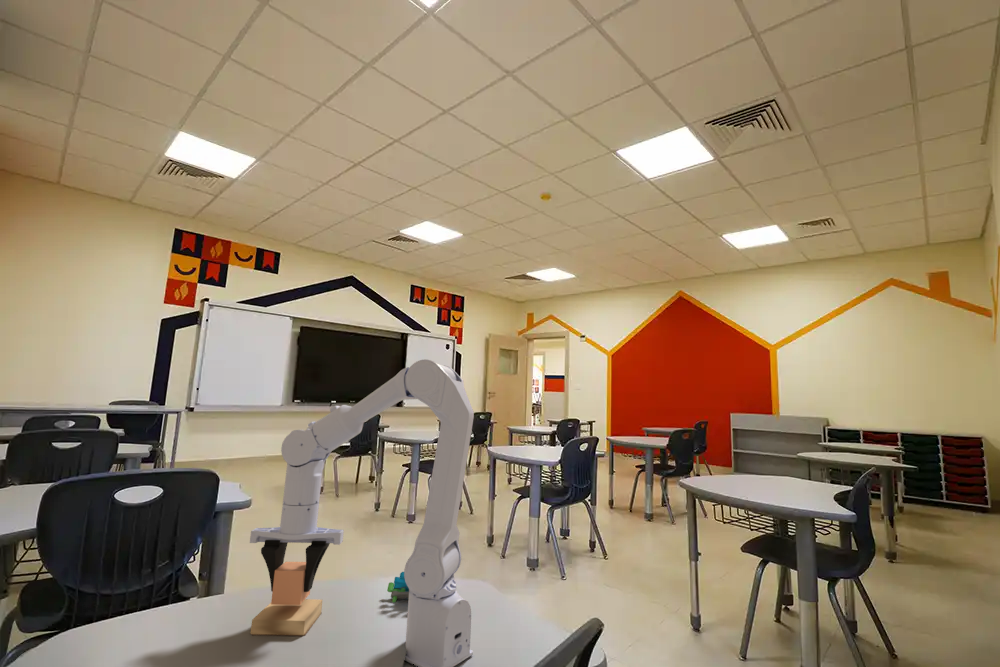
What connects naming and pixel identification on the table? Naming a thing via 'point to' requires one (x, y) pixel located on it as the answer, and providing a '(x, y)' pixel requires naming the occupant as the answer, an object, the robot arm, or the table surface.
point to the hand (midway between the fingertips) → (291, 589)
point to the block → (289, 584)
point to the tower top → (287, 618)
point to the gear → (398, 588)
